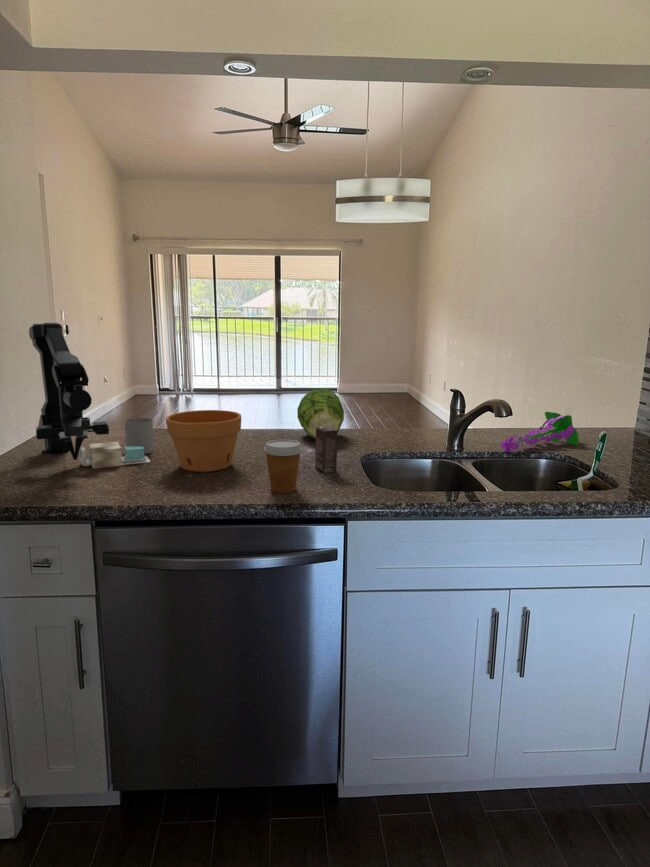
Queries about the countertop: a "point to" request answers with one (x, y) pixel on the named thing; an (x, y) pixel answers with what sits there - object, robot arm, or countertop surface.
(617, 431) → the countertop surface
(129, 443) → the cup
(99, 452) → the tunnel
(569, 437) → the purple flower
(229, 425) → the flower pot
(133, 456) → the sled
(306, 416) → the lettuce
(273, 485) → the disposable coffee cup
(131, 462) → the pad
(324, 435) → the box
